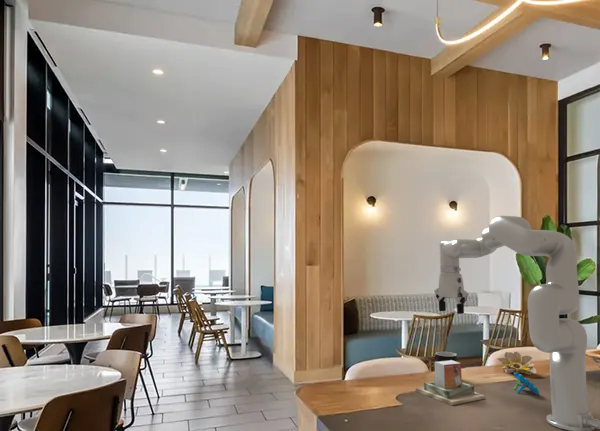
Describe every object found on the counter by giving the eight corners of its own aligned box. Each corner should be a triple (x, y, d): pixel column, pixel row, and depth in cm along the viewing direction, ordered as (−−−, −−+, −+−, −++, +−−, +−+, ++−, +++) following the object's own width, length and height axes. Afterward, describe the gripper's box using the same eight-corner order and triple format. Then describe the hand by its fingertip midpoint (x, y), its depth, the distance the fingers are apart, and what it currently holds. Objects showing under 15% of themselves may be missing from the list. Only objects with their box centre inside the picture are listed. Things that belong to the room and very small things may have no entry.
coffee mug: (459, 381, 177) (458, 356, 178) (437, 380, 179) (437, 355, 180) (454, 374, 189) (453, 350, 190) (433, 373, 190) (432, 350, 191)
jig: (484, 398, 156) (483, 387, 156) (451, 405, 149) (451, 394, 149) (446, 385, 172) (446, 376, 172) (415, 391, 165) (415, 381, 165)
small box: (444, 394, 156) (443, 364, 158) (434, 390, 162) (434, 361, 163) (462, 392, 159) (461, 363, 160) (452, 388, 164) (451, 359, 165)
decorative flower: (498, 371, 186) (498, 347, 189) (495, 371, 196) (495, 349, 199) (537, 377, 181) (537, 352, 184) (532, 377, 191) (532, 353, 194)
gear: (545, 393, 157) (523, 372, 159) (534, 405, 156) (512, 384, 158) (531, 388, 168) (510, 369, 170) (521, 399, 167) (500, 380, 169)
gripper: (473, 270, 173) (474, 314, 172) (441, 269, 189) (442, 309, 187) (459, 271, 170) (461, 315, 168) (428, 270, 185) (429, 310, 184)
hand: (451, 312), depth 178 cm, fingers open, 9 cm apart
